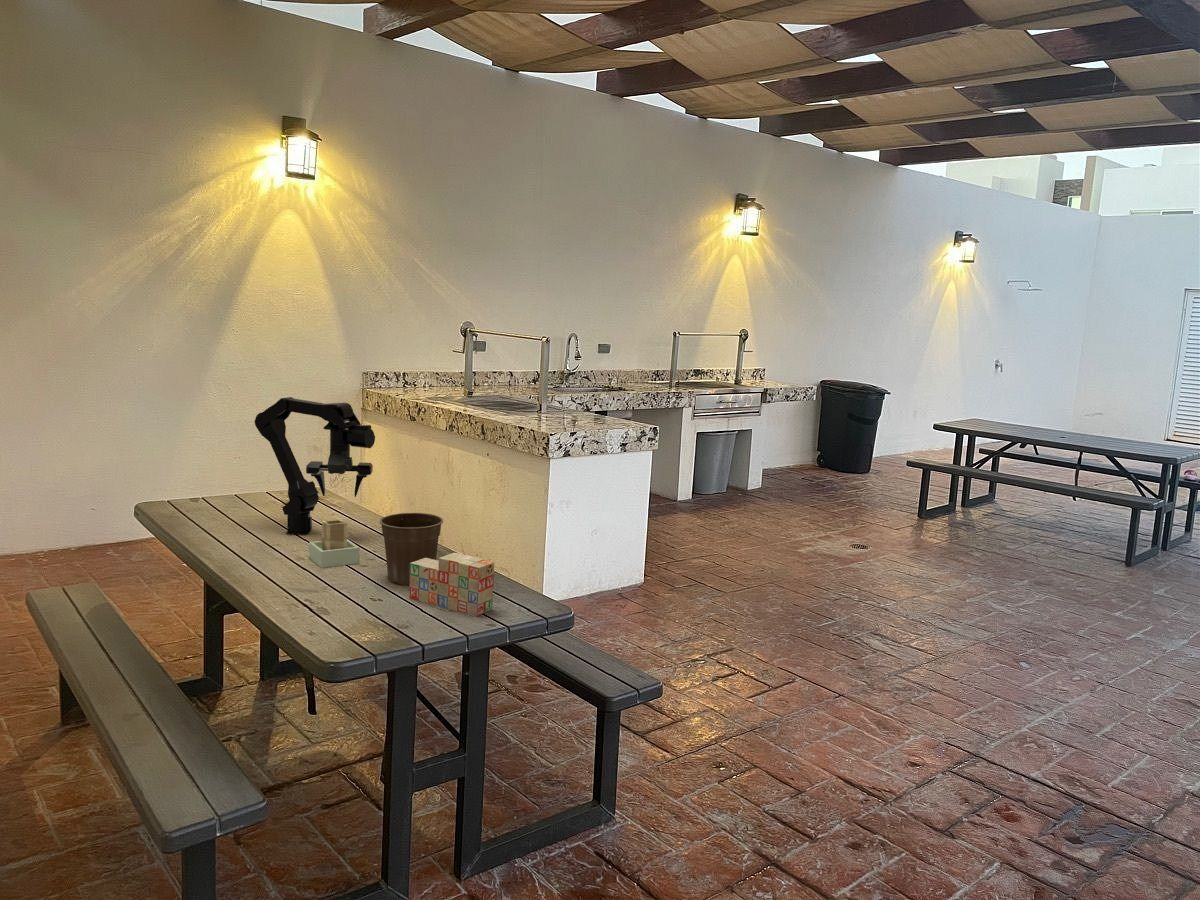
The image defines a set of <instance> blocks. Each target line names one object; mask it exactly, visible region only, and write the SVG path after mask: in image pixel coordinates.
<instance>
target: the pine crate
mask: <svg viewBox="0 0 1200 900" xmlns="http://www.w3.org/2000/svg"><path fill="white" fill-rule="evenodd" d="M347 533H348V523H347V522H346V521H345V520H343V519H330V520H322V521H321V541H322V550H323V551H325V550H334V549H343V548H347V539H348V534H347Z"/></svg>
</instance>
